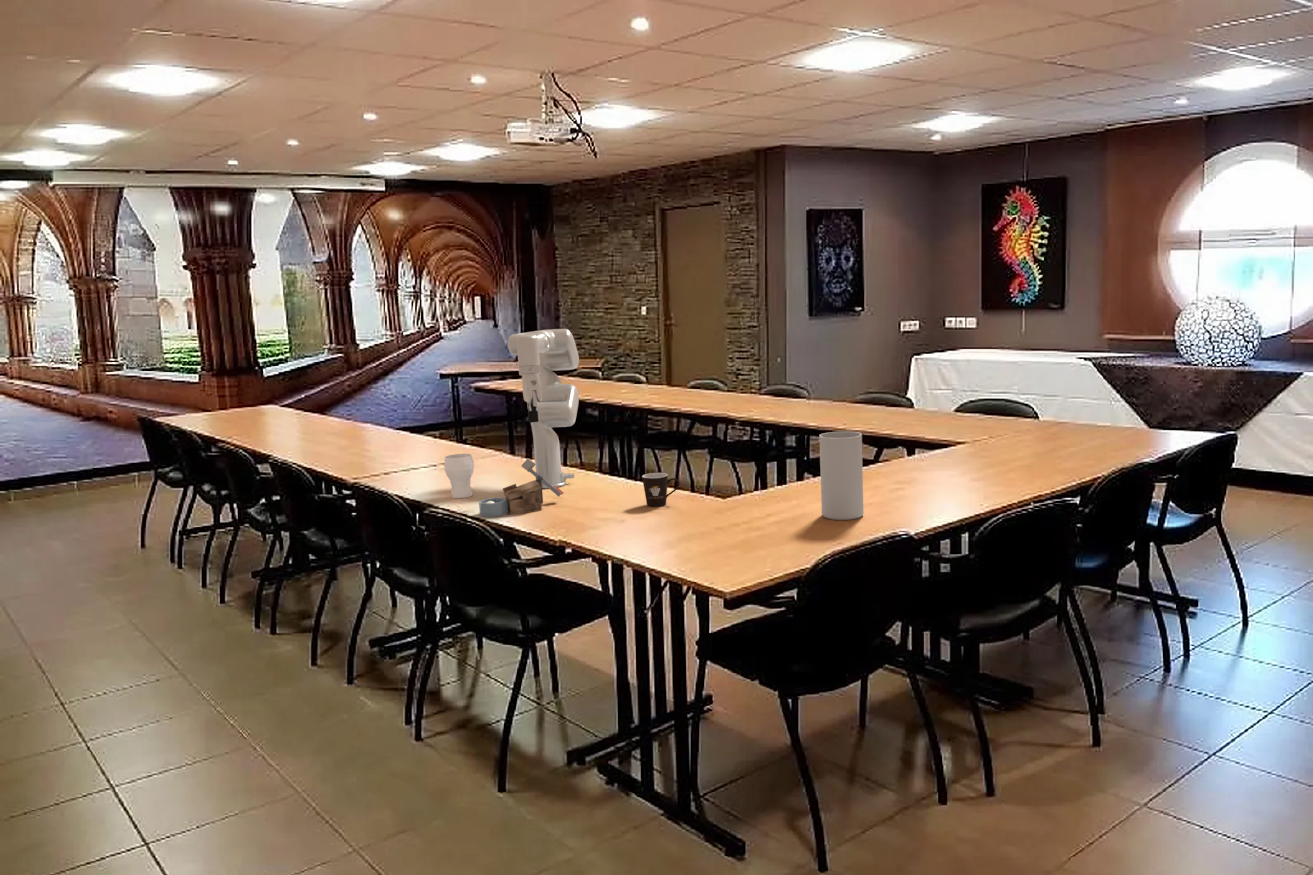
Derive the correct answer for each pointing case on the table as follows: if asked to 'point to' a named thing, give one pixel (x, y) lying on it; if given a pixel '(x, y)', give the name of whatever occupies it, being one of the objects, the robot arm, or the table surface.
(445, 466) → the cup
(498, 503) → the pot
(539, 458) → the robot arm
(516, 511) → the cardboard box
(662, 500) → the coffee mug
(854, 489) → the cylinder vase
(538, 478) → the lever
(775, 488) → the table surface
